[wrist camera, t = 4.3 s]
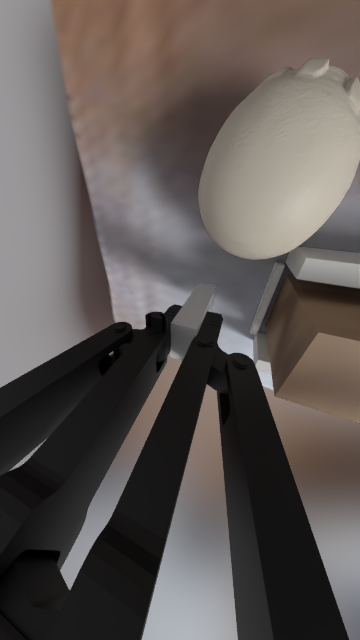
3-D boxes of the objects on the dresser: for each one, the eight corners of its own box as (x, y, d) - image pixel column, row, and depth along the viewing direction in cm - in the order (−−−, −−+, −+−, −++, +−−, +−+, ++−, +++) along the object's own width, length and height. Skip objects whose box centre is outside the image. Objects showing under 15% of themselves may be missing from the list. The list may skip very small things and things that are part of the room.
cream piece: (366, 145, 9) (535, 52, 4) (266, 264, 13) (276, 298, 8) (260, 79, 9) (275, -109, 4) (196, 219, 13) (161, 225, 8)
